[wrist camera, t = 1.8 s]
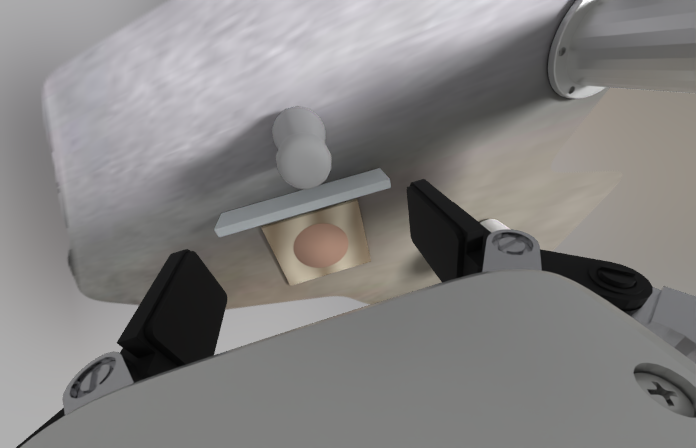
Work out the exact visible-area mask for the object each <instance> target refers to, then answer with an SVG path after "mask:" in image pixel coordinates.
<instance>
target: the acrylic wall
mask: <svg viewBox="0 0 696 448" xmlns="http://www.w3.org/2000/svg"><path fill="white" fill-rule="evenodd" d="M388 188H391V184H390V179H389V177H388V176H387V175H386V174H385V173H384V172H383V171H382V170H381V169H380V168H378V169H374V170H371V171H367V172H364V173H360V174H357V175H353V176H350V177H346V178H343V179H339V180H336V181H332V182H329V183H325V184H322V185H319V186H318V187H314V188H311V189H307V190H306V189H304V190H301V191H297V192H294V193H290V194H287V195H283V196H280V197H276V198H273V199H269V200H266V201H262V202H259V203H255V204H252V205H248V206H245V207H241V208H238V209H234V210H231V211H227V212H224V213H221V215H220V217H219V220H218V222H217V224H216V226H215V228H214V231H215V232H216V234H217V235H218V237H222V236H226V235H229V234H233V233H236V232H240V231H243V230H247V229H250V228H253V227H257V226H260V225H264V224H267V223H271V222H274V221H278V220H281V219H284V218H288V217H291V216H295V215H298V214H302V213H305V212H309V211H312V210H315V209H319V208H322V207H326V206H329V205H333V204H336V203H340V202H343V201H347V200H350V199H353V198H357V197H360V196H364V195H367V194H371V193H374V192H378V191H381V190H384V189H388Z"/></svg>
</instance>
